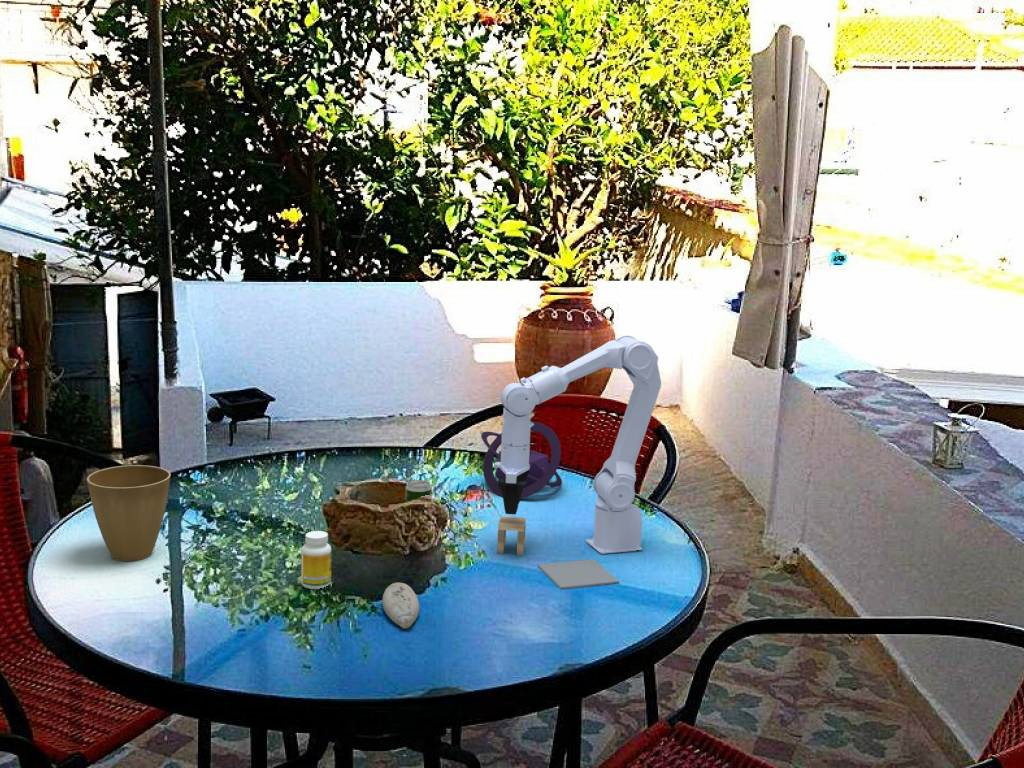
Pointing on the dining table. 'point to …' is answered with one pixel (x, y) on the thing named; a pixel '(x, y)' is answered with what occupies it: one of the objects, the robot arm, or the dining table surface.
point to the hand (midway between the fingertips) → (512, 508)
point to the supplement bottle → (316, 561)
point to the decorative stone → (401, 604)
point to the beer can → (417, 489)
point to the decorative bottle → (537, 461)
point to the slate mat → (577, 574)
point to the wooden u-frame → (511, 525)
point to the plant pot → (129, 508)
